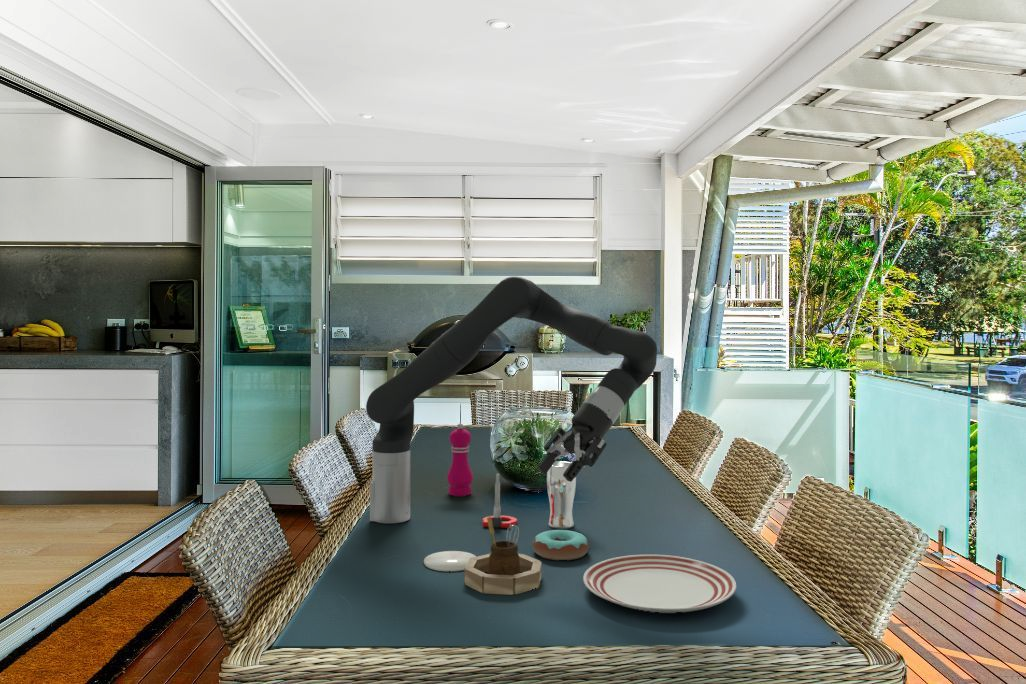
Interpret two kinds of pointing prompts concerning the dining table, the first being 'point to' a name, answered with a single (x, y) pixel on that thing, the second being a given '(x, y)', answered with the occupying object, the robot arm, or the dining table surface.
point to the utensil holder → (503, 555)
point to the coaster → (448, 560)
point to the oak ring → (502, 576)
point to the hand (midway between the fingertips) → (553, 474)
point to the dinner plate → (660, 583)
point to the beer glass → (560, 496)
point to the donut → (560, 545)
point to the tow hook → (499, 511)
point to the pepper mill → (460, 463)
